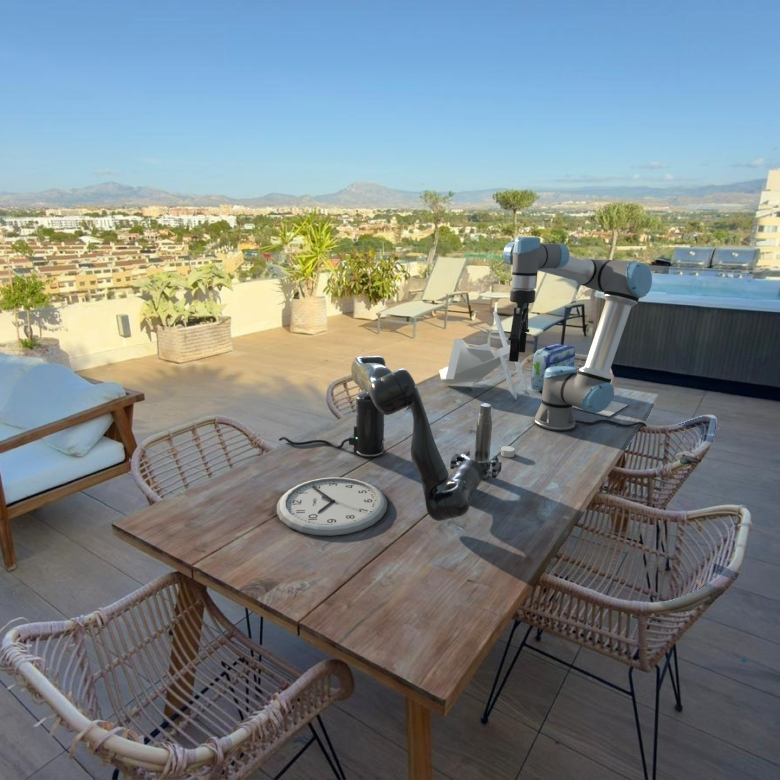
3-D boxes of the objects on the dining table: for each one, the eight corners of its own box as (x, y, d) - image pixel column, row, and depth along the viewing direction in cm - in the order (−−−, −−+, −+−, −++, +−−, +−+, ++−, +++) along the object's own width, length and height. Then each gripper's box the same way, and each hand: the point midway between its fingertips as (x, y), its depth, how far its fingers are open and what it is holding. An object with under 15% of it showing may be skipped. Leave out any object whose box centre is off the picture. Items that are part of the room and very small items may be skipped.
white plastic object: (461, 429, 252) (437, 405, 227) (444, 352, 274) (420, 323, 250) (535, 404, 240) (518, 377, 215) (510, 326, 262) (492, 293, 237)
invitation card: (608, 416, 214) (573, 407, 224) (608, 416, 214) (573, 408, 224) (628, 404, 229) (594, 396, 238) (628, 405, 229) (594, 397, 238)
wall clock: (392, 527, 129) (268, 531, 127) (391, 533, 130) (269, 537, 127) (383, 473, 158) (282, 475, 155) (383, 478, 158) (282, 480, 156)
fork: (403, 410, 217) (403, 406, 216) (415, 399, 231) (415, 395, 231) (409, 411, 216) (409, 406, 215) (420, 400, 230) (420, 395, 230)
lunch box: (547, 396, 238) (552, 351, 232) (526, 391, 246) (531, 347, 239) (574, 385, 256) (579, 343, 250) (554, 380, 263) (559, 340, 257)
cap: (510, 451, 179) (510, 445, 179) (516, 456, 175) (517, 450, 175) (498, 452, 178) (499, 446, 178) (504, 458, 174) (505, 451, 173)
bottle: (488, 473, 163) (494, 403, 156) (487, 479, 159) (493, 408, 152) (473, 471, 164) (478, 401, 157) (472, 477, 160) (477, 406, 153)
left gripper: (492, 470, 141) (506, 448, 155) (442, 460, 147) (460, 440, 161) (490, 495, 144) (504, 471, 158) (441, 484, 149) (459, 462, 163)
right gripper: (517, 284, 173) (512, 347, 179) (503, 292, 151) (497, 364, 157) (540, 285, 170) (534, 349, 176) (529, 294, 148) (523, 367, 154)
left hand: (482, 456), depth 159 cm, fingers open, 8 cm apart
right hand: (517, 356), depth 167 cm, fingers open, 13 cm apart
